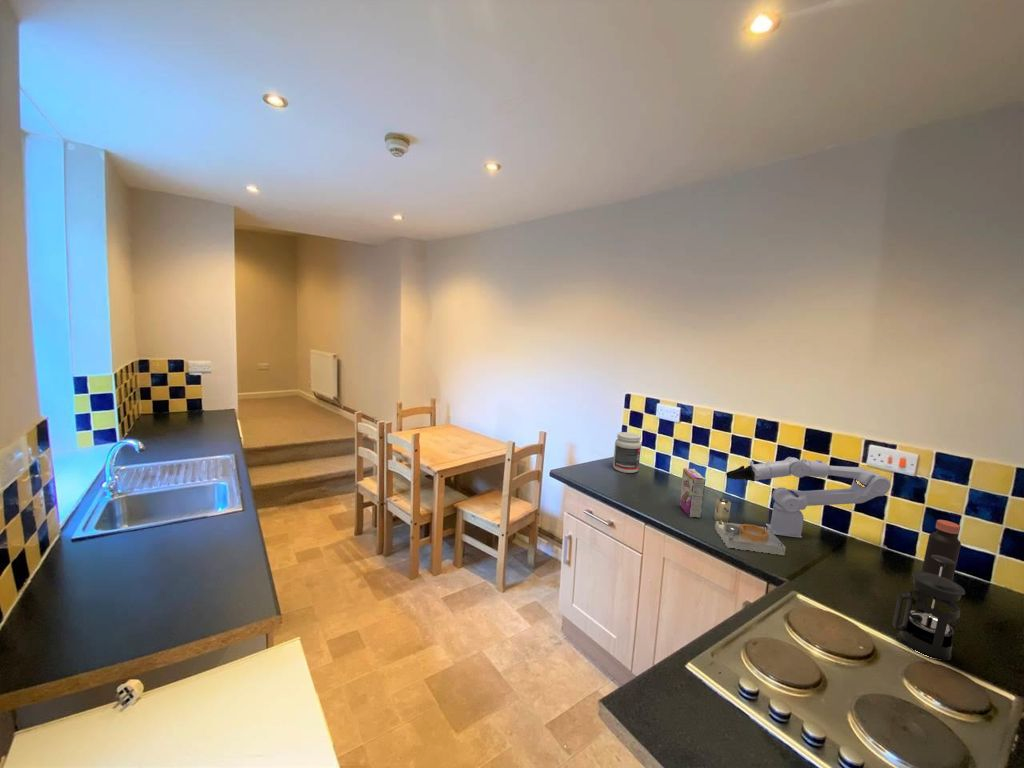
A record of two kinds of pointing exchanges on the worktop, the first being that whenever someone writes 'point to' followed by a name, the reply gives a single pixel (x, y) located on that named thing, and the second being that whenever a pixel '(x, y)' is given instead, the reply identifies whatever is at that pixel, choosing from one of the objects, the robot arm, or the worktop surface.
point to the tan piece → (722, 510)
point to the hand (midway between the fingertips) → (728, 475)
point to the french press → (925, 622)
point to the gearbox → (749, 538)
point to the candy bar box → (692, 492)
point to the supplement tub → (627, 452)
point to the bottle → (942, 548)
